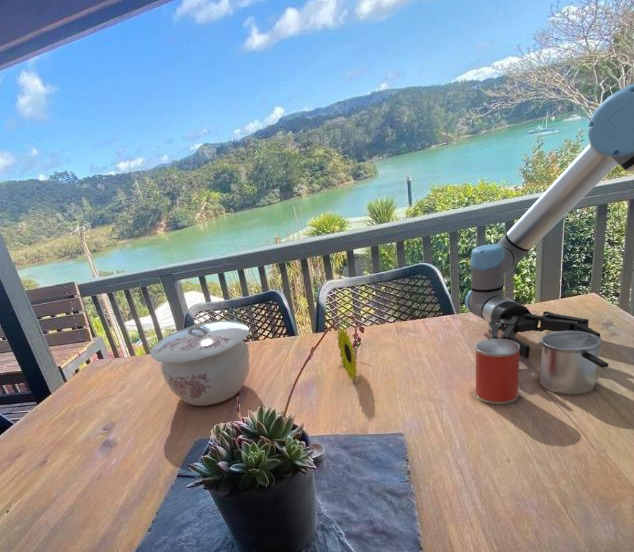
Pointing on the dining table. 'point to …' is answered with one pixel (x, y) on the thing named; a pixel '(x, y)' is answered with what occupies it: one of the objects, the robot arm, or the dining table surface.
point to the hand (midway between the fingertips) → (562, 346)
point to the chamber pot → (205, 361)
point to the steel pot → (570, 361)
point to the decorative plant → (347, 353)
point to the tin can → (497, 371)
